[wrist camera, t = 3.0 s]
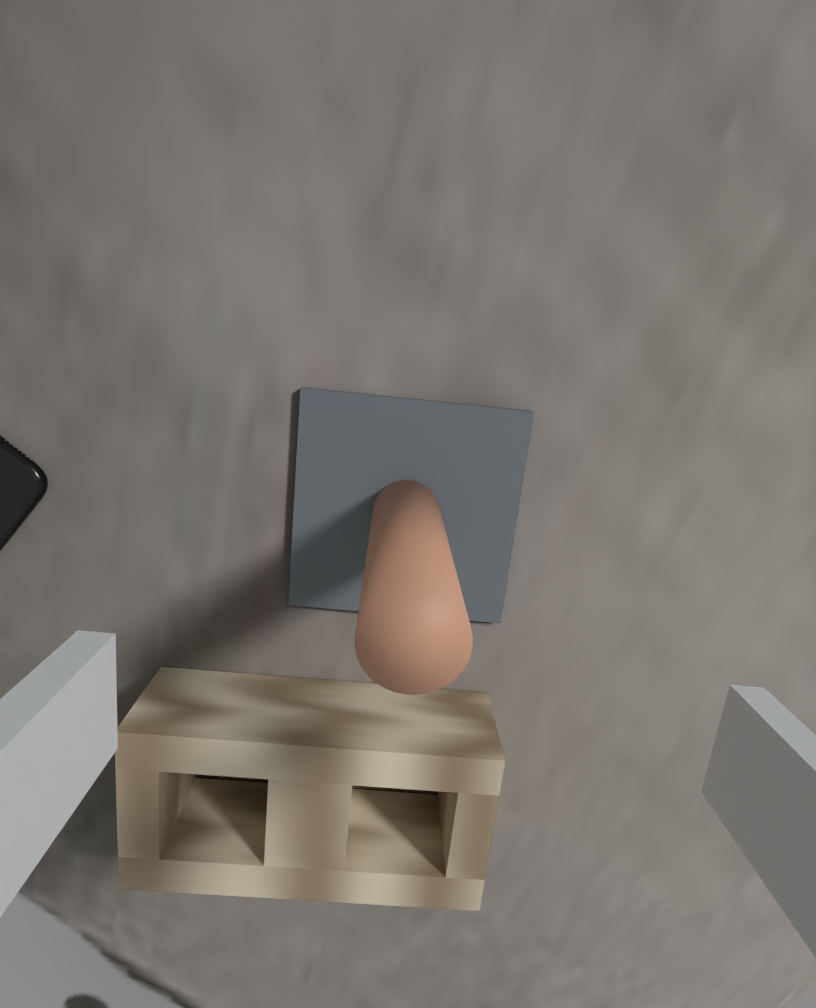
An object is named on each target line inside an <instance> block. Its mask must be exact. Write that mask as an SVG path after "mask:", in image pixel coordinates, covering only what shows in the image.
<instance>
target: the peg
mask: <svg viewBox="0 0 816 1008" xmlns="http://www.w3.org/2000/svg"><path fill="white" fill-rule="evenodd" d="M472 646H473V636H472V630H471V626H470V622H469V618H468V614H467V611H466V607H465V603H464V599H463V595H462V592H461V588H460V584H459V580H458V576H457V573H456V569H455V565H454V561H453V557H452V554H451V550H450V546H449V542H448V538H447V535H446V531H445V527H444V523H443V519H442V516H441V512H440V508H439V504H438V501H437V499H436V497H435V495H434V494H433V492H432V491H431V490H430V489H429V488H428V487H426V486H425V485H423V484H422V483H419V482H416V481H412V480H400V481H396V482H393V483H391V484H389V485H387V486H386V487H384V488H383V489H382V490H381V491H380V493H379V494H378V495H377V497H376V499H375V501H374V504H373V510H372V517H371V525H370V532H369V539H368V547H367V554H366V562H365V569H364V576H363V584H362V591H361V598H360V606H359V613H358V620H357V628H356V635H355V649H356V654H357V658H358V660H359V663H360V665H361V667H362V668H363V670H364V671H365V673H366V674H367V675H368V676H369V677H370V678H371V679H372V680H373V681H374V682H376V683H377V684H378V685H380V686H382V687H383V688H385V689H387V690H390V691H393V692H396V693H400V694H406V695H419V694H426V693H431V692H434V691H437V690H439V689H441V688H443V687H445V686H446V685H448V684H450V683H451V682H452V681H453V680H455V679H456V678H457V677H458V676H459V675H460V674H461V672H462V671H463V670H464V668H465V667H466V665H467V663H468V661H469V658H470V656H471V652H472Z"/></svg>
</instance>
